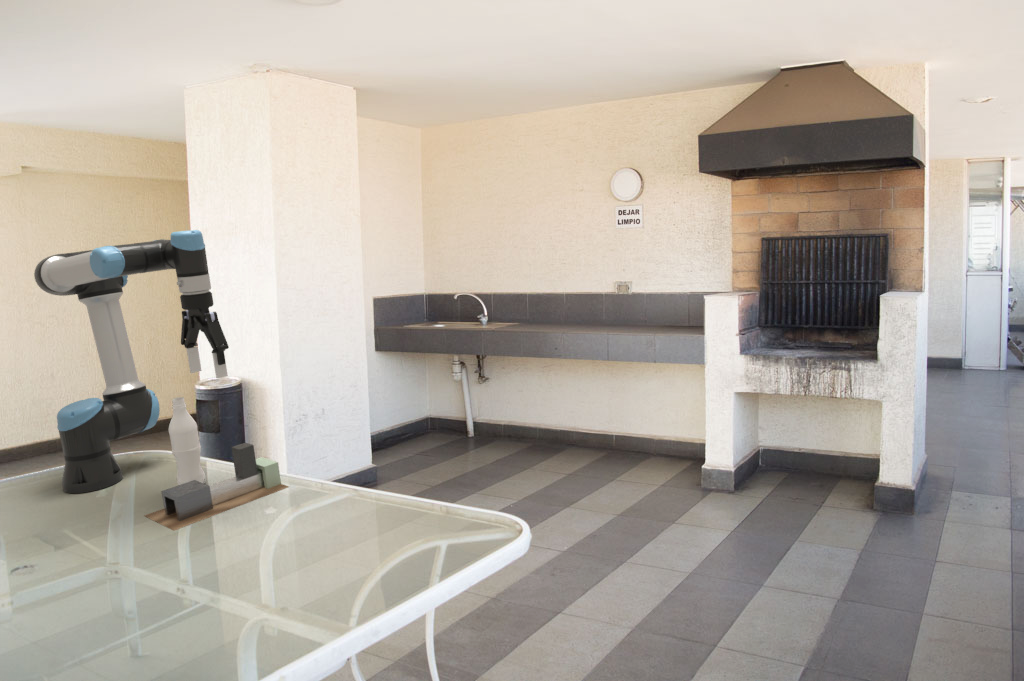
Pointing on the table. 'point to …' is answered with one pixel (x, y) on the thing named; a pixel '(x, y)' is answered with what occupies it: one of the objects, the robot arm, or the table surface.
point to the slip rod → (239, 476)
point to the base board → (175, 524)
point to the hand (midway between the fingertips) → (208, 374)
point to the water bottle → (185, 444)
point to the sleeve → (187, 499)
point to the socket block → (269, 472)
